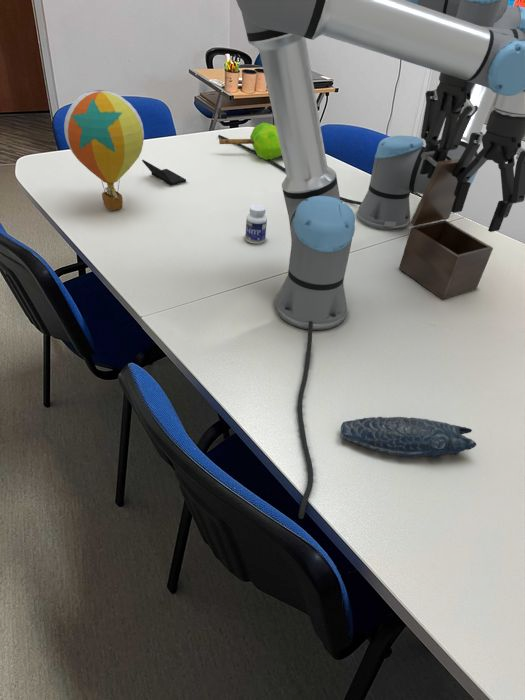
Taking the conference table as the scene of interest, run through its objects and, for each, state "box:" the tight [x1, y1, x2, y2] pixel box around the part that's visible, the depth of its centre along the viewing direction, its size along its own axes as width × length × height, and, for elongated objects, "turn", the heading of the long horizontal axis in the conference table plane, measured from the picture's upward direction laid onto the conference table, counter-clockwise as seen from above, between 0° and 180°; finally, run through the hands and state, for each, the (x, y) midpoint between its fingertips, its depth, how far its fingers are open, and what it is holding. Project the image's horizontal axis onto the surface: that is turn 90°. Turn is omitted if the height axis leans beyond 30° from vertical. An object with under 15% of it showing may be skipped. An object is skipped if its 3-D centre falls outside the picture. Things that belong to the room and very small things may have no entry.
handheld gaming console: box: [141, 159, 187, 187], centre depth 162 cm, size 12×7×10 cm
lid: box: [409, 151, 476, 227], centre depth 121 cm, size 16×12×8 cm
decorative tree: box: [218, 122, 282, 161], centre depth 186 cm, size 18×10×30 cm
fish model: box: [340, 416, 477, 458], centre depth 82 cm, size 7×21×5 cm, turn 84°
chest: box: [398, 219, 494, 300], centre depth 124 cm, size 15×12×11 cm
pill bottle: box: [244, 204, 268, 245], centre depth 134 cm, size 5×5×9 cm
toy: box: [63, 89, 145, 212], centre depth 136 cm, size 20×20×30 cm
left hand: (474, 220), depth 114 cm, fingers open, 10 cm apart
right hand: (428, 175), depth 122 cm, fingers closed on lid, 2 cm apart
